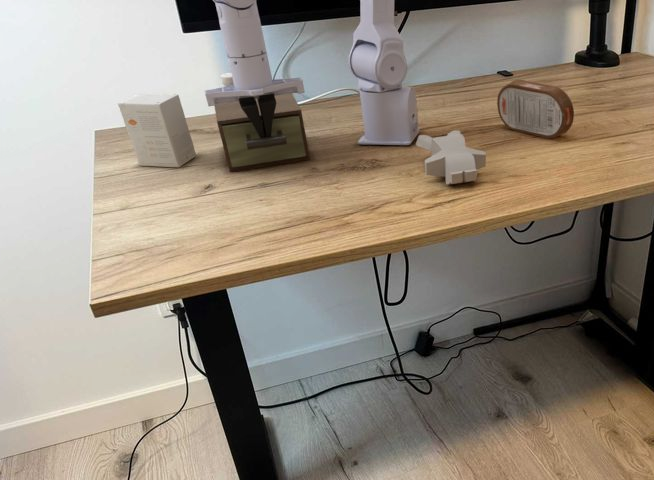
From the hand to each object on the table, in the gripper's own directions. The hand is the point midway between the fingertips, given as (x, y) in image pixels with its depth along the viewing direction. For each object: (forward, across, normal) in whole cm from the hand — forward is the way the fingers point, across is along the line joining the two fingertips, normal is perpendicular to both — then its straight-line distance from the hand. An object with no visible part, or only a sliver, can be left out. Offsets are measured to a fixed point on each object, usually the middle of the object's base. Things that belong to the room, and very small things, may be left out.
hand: (267, 145), depth 104 cm
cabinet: (+4, 0, +9) cm, 10 cm away
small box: (+4, -16, +13) cm, 21 cm away
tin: (+5, +45, -3) cm, 46 cm away
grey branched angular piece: (+5, +26, -14) cm, 30 cm away
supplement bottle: (+4, -2, +26) cm, 27 cm away
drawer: (+3, 0, +5) cm, 6 cm away
